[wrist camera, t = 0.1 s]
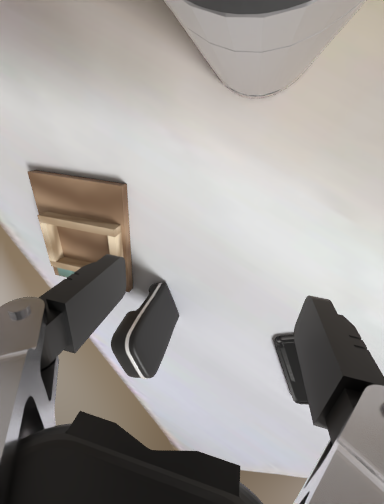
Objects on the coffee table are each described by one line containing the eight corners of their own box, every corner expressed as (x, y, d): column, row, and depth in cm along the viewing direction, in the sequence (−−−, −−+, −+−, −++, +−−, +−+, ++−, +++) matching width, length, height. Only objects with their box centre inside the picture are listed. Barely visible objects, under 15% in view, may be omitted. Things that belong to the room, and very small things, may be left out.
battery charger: (144, 282, 34) (99, 343, 24) (166, 279, 33) (128, 343, 23) (160, 317, 37) (125, 384, 27) (181, 315, 35) (153, 386, 26)
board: (35, 170, 29) (15, 173, 27) (126, 184, 27) (114, 189, 25) (60, 270, 37) (47, 280, 35) (132, 287, 35) (124, 299, 33)
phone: (334, 335, 29) (348, 405, 35) (332, 329, 30) (345, 398, 36) (272, 340, 32) (293, 404, 38) (272, 334, 33) (292, 397, 39)
